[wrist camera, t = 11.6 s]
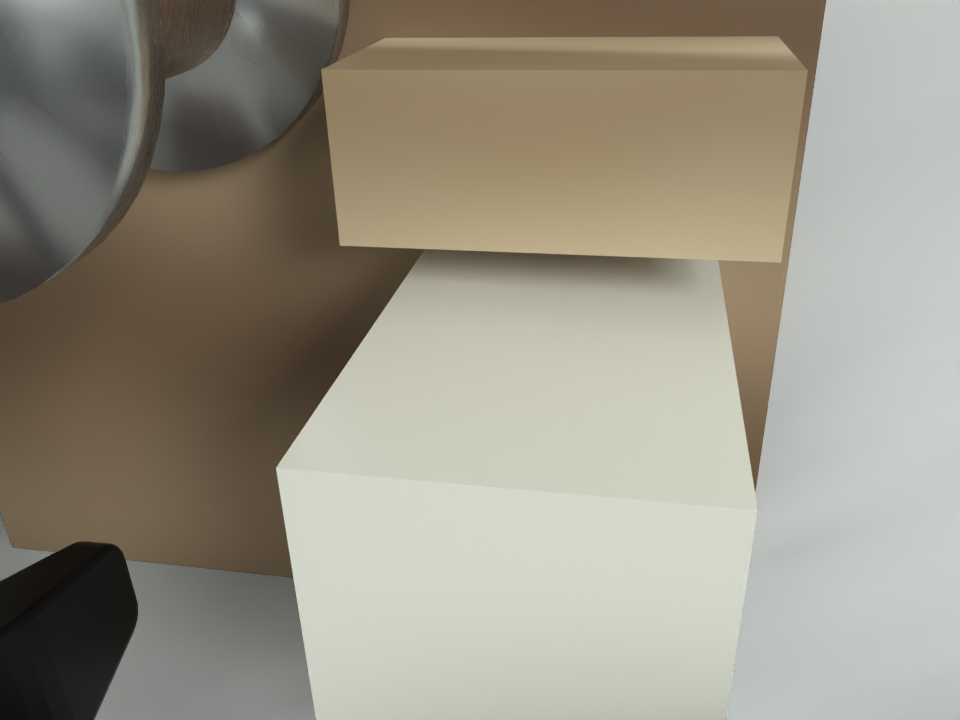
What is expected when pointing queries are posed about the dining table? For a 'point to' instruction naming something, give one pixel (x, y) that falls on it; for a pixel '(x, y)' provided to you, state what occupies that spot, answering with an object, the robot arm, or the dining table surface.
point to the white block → (527, 497)
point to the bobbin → (138, 107)
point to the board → (275, 315)
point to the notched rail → (567, 145)
